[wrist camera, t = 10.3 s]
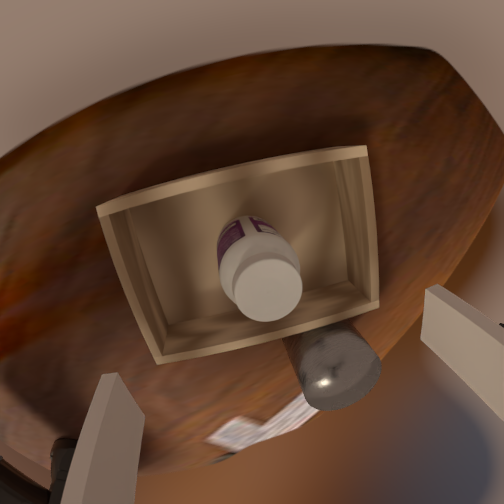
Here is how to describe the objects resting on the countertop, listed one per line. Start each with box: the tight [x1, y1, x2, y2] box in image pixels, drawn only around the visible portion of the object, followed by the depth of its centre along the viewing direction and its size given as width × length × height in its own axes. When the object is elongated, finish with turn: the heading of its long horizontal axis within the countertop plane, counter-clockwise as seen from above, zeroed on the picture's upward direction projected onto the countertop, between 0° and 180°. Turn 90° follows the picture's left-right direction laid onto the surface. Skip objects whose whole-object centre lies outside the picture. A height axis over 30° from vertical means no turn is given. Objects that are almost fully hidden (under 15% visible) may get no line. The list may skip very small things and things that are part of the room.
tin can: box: [282, 318, 381, 411], centre depth 26 cm, size 7×7×9 cm
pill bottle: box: [217, 215, 302, 322], centre depth 21 cm, size 5×5×10 cm
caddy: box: [96, 145, 379, 365], centre depth 23 cm, size 20×14×6 cm
